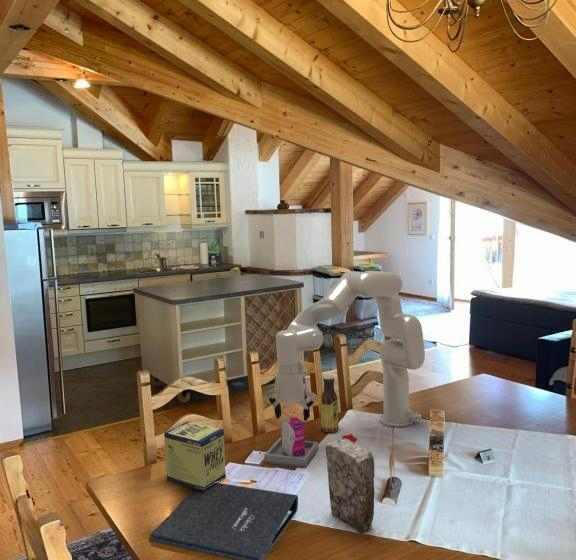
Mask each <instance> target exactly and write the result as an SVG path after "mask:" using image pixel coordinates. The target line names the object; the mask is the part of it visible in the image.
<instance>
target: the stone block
mask: <svg viewBox="0 0 576 560" xmlns="http://www.w3.org/2000/svg"><path fill="white" fill-rule="evenodd" d="M325 453H326V454H325V455H326V466H327V468H326V469H327V479H328V492H329V493H328V494H329V504H330V511H331V513H330V514H331V515H332V516H334V518H337V519H338V520H339V521H341V522H342V523H344V524H346V525H347V526H349V527H350V528H351V529H354V530H355V531H356V532H358V533H359V534H365V533H366V532H368V531H369V530H370V528H371V527H372V526H373V525H372V524H373V523H372V522H373V521H374V515H375V492H376V491H375V459H374V455H373V453H372V452H371V450H369V449H367V448H366V447H364V446H362V445H359V444H357V443H356V442H355V443H353V442H351V441H350V440H348V439H336V440H334V441H330V442H327V443H326V446H325Z"/></svg>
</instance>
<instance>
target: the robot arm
mask: <svg viewBox="0 0 576 560" xmlns="http://www.w3.org/2000/svg"><path fill="white" fill-rule="evenodd" d="M402 288H403V281H402V278H401V277H400V275H399V274H397V273H395V272H390V271H381V270H366V271H357V270H356V271H355V270H353V271H351V270H350V271H347V272H345V273H343V274H342V276H341V277H340V278H338V280H337V281H336V283H334V284H333V286H332V287H331V288H330V290H329V291H328V292H326V294H325V295H324V296H323V297H322V299H320V300H318V301H316V302H314V303H313V304H311V305H309V306H307V307H306V308H304V309H303V310H302V311H300V313H299V314H297V315H296V317H295V318H294V319H293V320H292V321H291V322H290V323H289V325H288V327H287V329H283V330H279V331H278V332H277V333H276V334H275V345H276V360H277V363H276V364H277V372H276V374H275V381H274V388H272V389H271V390H269V391H267V392H266V394H265V395H266V397H267V399H268V401H269V403H271V405H272V406H273V407H274V415H275V418H276V419H277V420H278V419H280V418H281V416H282V405H281V404H280V403H283V404H284V403H287V404H288V403H289V404H301V406H302V407H303V410H302V411H303V413H302V414H303V422H306V421H308V420H309V418H310V417H311V413H310V412H311V411H310V410H311V409H310V407H311V406H312V405H313V404H314V403H315V401H316V399H317V397H318V396H317V394H316V393H314V392H312V391H311V390H308V386H307V379H306V375H305V372H304V370H305V369H306V365H304V364H302V362H301V352H307V351H314V350H315V351H316V350H318V349H319V348H320V347H321V346H322V345H323V343H324V335H323V333H322V331H321V330H320V329H318V328H316V327H315V326H316V325H317V324H320V323H322V322H325V321H328V320H332V319H336V318H338V317H340V316H342V315H343V314H344V312H346V310H347V309H348V308H349V307H350V306H351V304H352V303H353V301H355V299H356V298H357V297H361V298H374V300H375V301H376V305H377V309H378V317H379V325H380V330H381V333H382V334H383V336H385V337H388V338H389V339H386V340H385V341H384V342H382V344H381V346H380V348H379V349H380V350H379V356H380V361H381V367H382V381H383V382H382V383H383V384H382V387H383V389H382V391H383V394H382V395H383V399H382V400H383V414H381V415H380V416H379V422H380V423H381V424H382V425H384V426H388V427H393V426H395V428H400V427H401V428H402V427H407V426H411V425H412V424H413V423H414V420H419V421H421V420H422V414H419V412H413V411H412V410H411V409H412V408H411V407H410V390H409V389H410V388H409V386H410V384H409V383H410V380H409V379H410V378H409V372H408V370H412V371H413V370H418V369H420V368H421V367H422V366H423V364H424V363H425V357H426V354H425V352H426V351H425V343H424V341H425V340H424V335H423V334H424V333H423V327H422V323H421V322H420V319H418V317H416V316H415V315H413V314H412V315H411V314H408V313H404V312H403V309H402V303H401V298H400V296H399V293H401V290H402ZM390 338H391V339H390ZM273 394H274V396H273ZM308 398H310V400H308Z"/></svg>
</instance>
